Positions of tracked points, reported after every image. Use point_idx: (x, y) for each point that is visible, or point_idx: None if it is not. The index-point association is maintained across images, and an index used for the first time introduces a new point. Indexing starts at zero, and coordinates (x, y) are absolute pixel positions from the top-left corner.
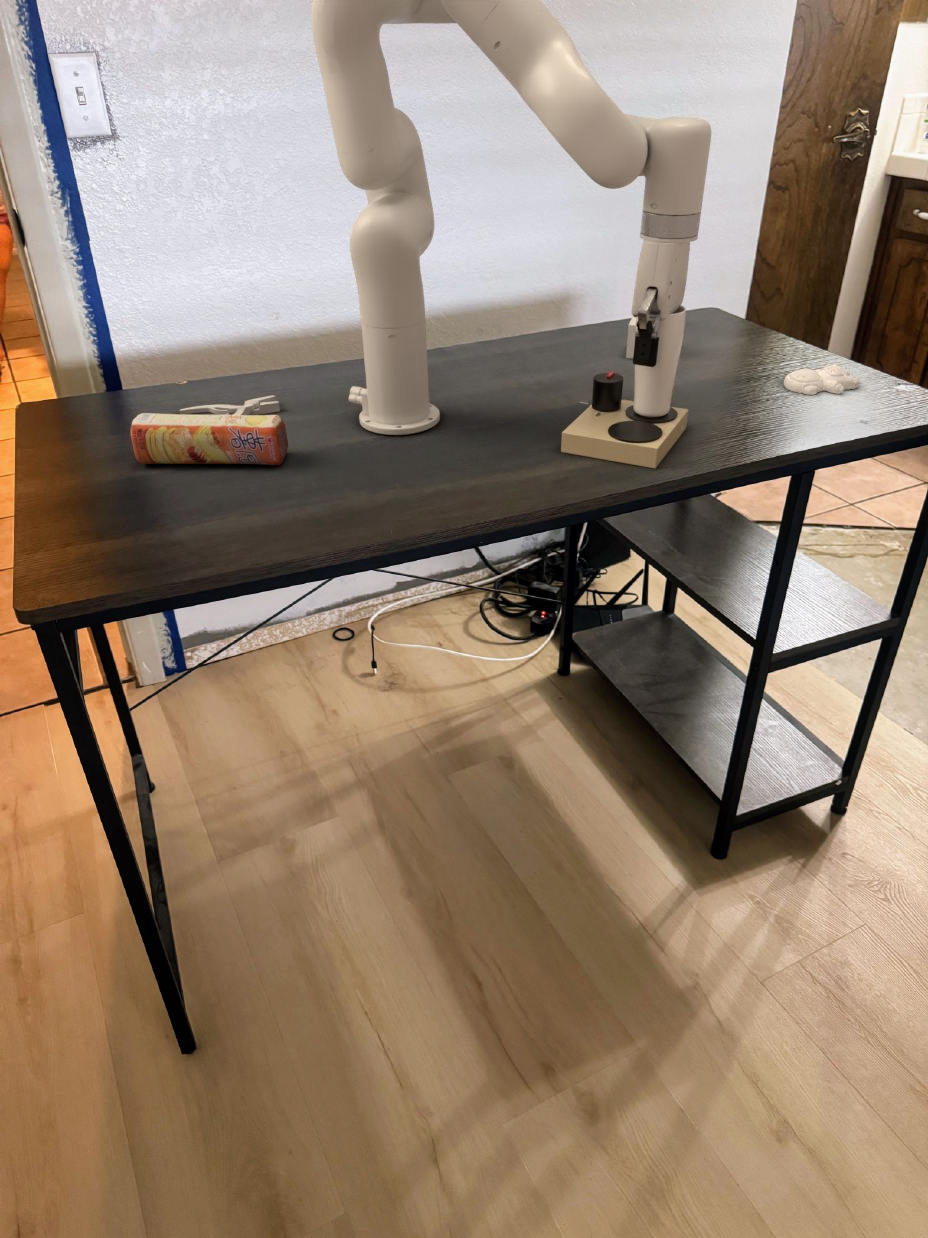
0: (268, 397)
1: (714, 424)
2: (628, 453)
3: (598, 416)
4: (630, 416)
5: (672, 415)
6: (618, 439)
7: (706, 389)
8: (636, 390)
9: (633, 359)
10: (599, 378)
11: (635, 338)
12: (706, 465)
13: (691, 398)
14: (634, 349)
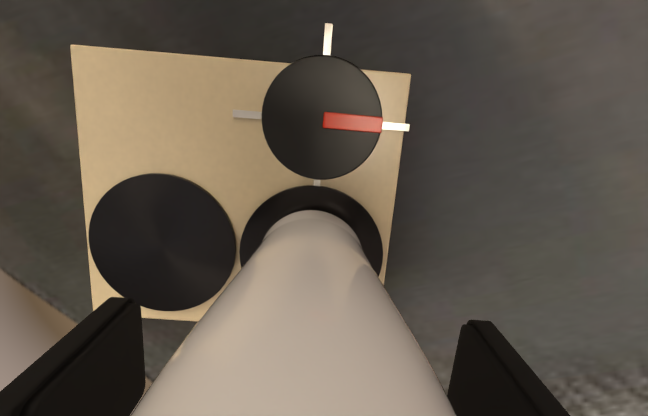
0: None
1: None
2: None
3: (238, 118)
4: (257, 211)
5: None
6: (92, 217)
7: (643, 305)
8: (265, 240)
9: (101, 306)
10: (300, 86)
11: (3, 391)
12: None
13: (571, 283)
14: (61, 340)
